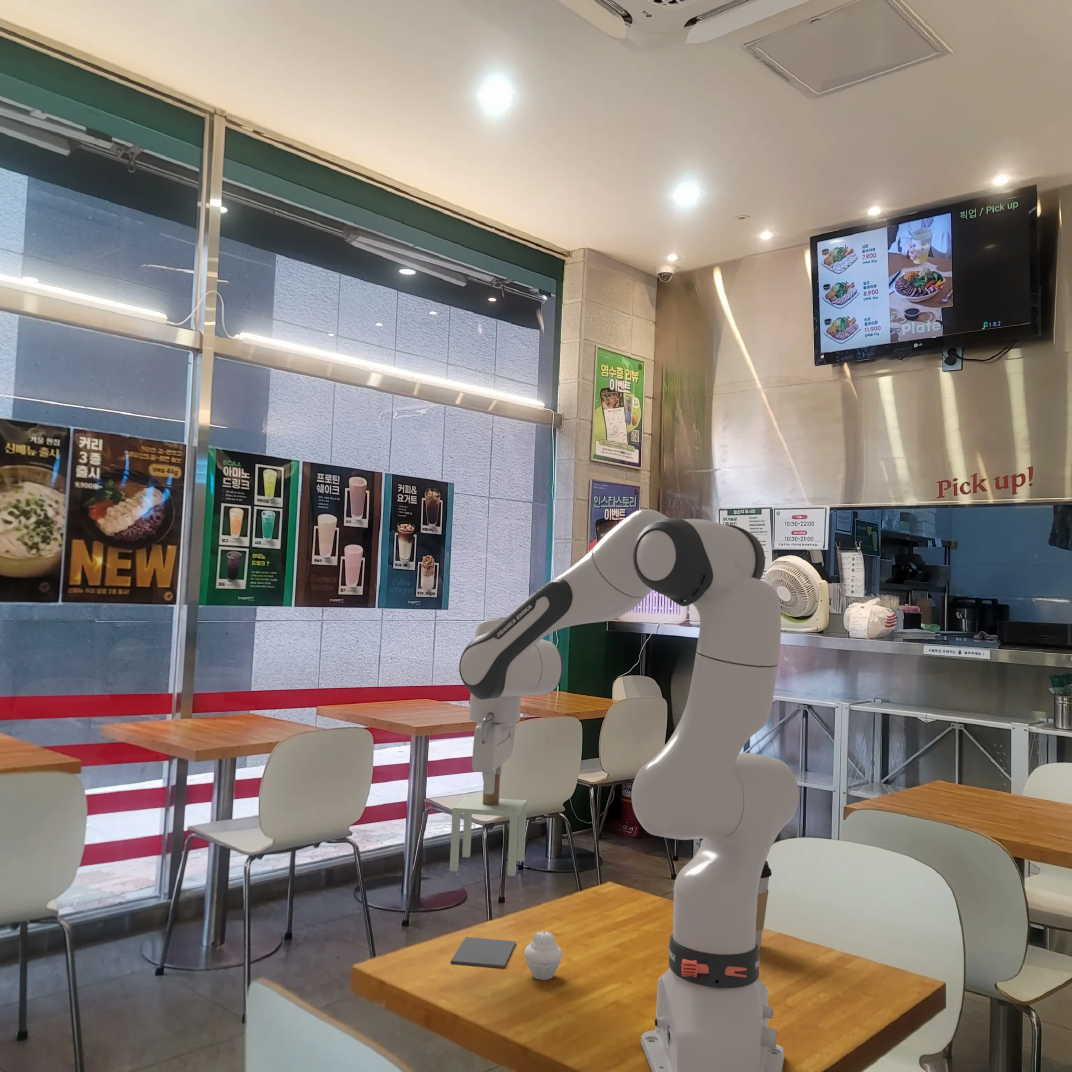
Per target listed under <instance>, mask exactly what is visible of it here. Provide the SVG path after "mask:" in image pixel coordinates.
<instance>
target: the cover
mask: <svg viewBox="0 0 1072 1072" xmlns="http://www.w3.org/2000/svg"><path fill="white" fill-rule="evenodd" d="M500 782H501V776H500V774H495V792H494V793H493V794H485V793H484V792H483V791H484V783H483V786H482V787H483V789H482V797H480V796H465V797H464V798H463V799H461V800H460V801H459V802H458V803H456V804H455V805H454V806H453V807H452V811H451V812H452V813H451V815H452V816H451V836H450V855H449V871H450V872H458V870H459V860H460V859H459V858H460V840H461V839H460V836H461V817H462V815H461V814H463V830H462V831H463V832H462V833H463V834H462V850H461V852H462V854H461V855H462V858H470V856H471V849H472V848H471V846H472V844H471V843H472V825H473V824H472V823H473V821H472V820H473V815H482V816H494V817H496V816H497V817H509V823H508V824H509V828H508V829H509V831H508V847H507V849H508V852H507V872H506V875H507V876H509V877H515V876H516V873H517V862H525V854H526V853H525V852H526V851H525V850H526V845H525V844H526V831H527V830H526V827H527V823H526V822H527V806H528V805H527V802H528V800H526V799H524V800H523V799H512V798H500V788H501V787H500V784H501V783H500Z"/></svg>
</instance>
